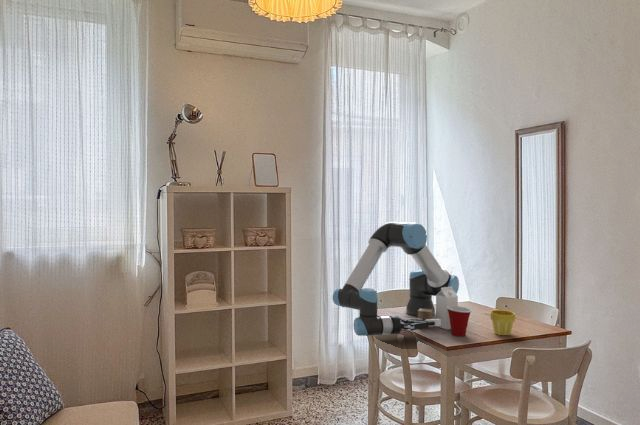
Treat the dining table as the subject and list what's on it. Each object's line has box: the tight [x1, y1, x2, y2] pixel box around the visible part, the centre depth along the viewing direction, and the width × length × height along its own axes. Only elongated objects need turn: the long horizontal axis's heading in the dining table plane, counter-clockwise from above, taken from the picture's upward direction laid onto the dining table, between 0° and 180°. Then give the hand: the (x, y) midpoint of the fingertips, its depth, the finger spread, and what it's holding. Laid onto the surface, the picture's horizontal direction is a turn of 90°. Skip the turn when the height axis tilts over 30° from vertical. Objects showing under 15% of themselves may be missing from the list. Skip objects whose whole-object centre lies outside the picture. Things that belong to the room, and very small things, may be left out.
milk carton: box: [435, 287, 459, 330], centre depth 220 cm, size 7×7×19 cm
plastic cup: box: [447, 305, 473, 337], centre depth 208 cm, size 11×11×12 cm
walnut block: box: [417, 308, 434, 330], centre depth 221 cm, size 6×6×8 cm
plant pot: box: [489, 309, 516, 336], centre depth 209 cm, size 10×10×10 cm
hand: (440, 322), depth 206 cm, fingers closed
